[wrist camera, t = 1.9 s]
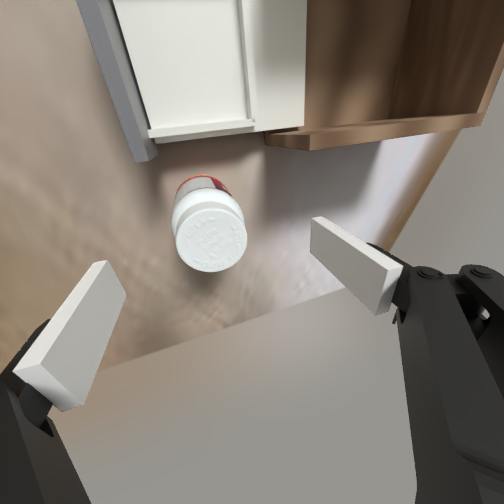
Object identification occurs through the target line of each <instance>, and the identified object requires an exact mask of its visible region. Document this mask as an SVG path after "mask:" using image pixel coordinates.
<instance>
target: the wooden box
mask: <svg viewBox="0 0 504 504" xmlns="http://www.w3.org/2000/svg"><path fill="white" fill-rule="evenodd" d="M503 68H504V0H307V19H306V61H305V102H304V126H298V127H290V128H282V129H274V130H265V131H264V134H265V145H272V146H279V147H286V148H293V149H300V150H307V151H312V150H319V149H326V148H333V147H339V146H346V145H353V144H360V143H367V142H373V141H380V140H387V139H394V138H401V137H407V136H414V135H421V134H428V133H435V132H441V131H448V130H455V129H462V128H468V127H475V126H481V123H482V121H483V118H484V116H485V113H486V111H487V108H488V106H489V103H490V101H491V98H492V96H493V93H494V91H495V88H496V86H497V83H498V80H499V78H500V76H501V73H502V71H503Z"/></svg>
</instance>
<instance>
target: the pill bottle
mask: <svg viewBox="0 0 504 504" xmlns="http://www.w3.org/2000/svg"><path fill="white" fill-rule="evenodd" d="M171 227H172V232H173V235H174V238H175V240H176V248H177V251H178V254H179V255H180V257H181V258H182V260H183V261H184V262H185V263H186V264H187V265H189V266H190V267H192V268H194V269H196V270H199V271H203V272H217V271H222V270H225V269H227V268H229V267H231V266H232V265H234V264H235V263H236V262H237V261H238V260H239V259H240V258H241V257H242V255H243V253H244V251H245V249H246V246H247V232H246V229H245V226H244V216H243V213H242V210H241V208H240V207H239V205H238V203H237V202H236V200H235V199H234V198H233V197H232V195H231V194H230V193H229V191H228V190H227V188H226V187H225V186H224V185H223V184H222V182H220V181H219V180H218V179H216V178H214V177H212V176H209V175H194V176H192V177H189V178H188V179H186V180H185V181H184V182H183V183H182V184H181V185H180V186H179V188H178V190H177V193H176V197H175V202H174V207H173V212H172V219H171Z"/></svg>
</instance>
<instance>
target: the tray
mask: <svg viewBox="0 0 504 504" xmlns="http://www.w3.org/2000/svg"><path fill="white" fill-rule="evenodd" d="M76 2H77V5H78V8H79V10H80V13H81V16H82V19H83V21H84V24H85V27H86V30H87V32H88V35H89V38H90V41H91V44H92V46H93V49H94V52H95V55H96V57H97V60H98V63H99V66H100V68H101V71H102V74H103V77H104V79H105V82H106V85H107V88H108V90H109V93H110V96H111V99H112V102H113V104H114V107H115V110H116V113H117V115H118V118H119V121H120V124H121V126H122V129H123V132H124V135H125V137H126V140H127V143H128V146H129V149H130V151H131V154H132V157H133V160H134V162H135V163H138V162H145V161H150V160H151V159H153V158H154V157H155V156H156V155H158V154H159V152H158V149H157V146H156V144H159V143H168V142H176V141H184V140H192V139H200V138H208V137H217V136H225V135H233V134H241V133H249V132H257V131H265V130H274V129H282V128H290V127H298V126H304V102H305V61H306V19H307V0H76Z"/></svg>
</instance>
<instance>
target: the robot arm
mask: <svg viewBox="0 0 504 504" xmlns="http://www.w3.org/2000/svg"><path fill="white" fill-rule="evenodd" d="M310 253H311V254H312V255H313V256H315V257H316V258H317V259H318V260H319V261H320V262H321V263H322V264H323V265H324V266H325V267H326V268H327V269H328V270H329V271H330V272H331V273H332V274H333V275H334V276H335V277H336V278H337V279H338V280H339V281H340V282H341V283H342V284H343V285H344V286H345V287H347V288H348V289H349V290H350V291H351V292H352V293H353V294H354V295H355V296H356V297H357V298H358V299H359V300H360V301H361V302H362V303H363V304H364V305H365V306H366V307H367V308H368V309H369V310H370V311H371V312H372V313H374V315H378V314H382V313H385V312H388V311H389V308H390V305H391V302H392V303H394V304H395V305H396V306H397V310H396V313H395V316H394V319H393V322H392V323H393V324H395V322H396V321H397V325H398V333H399V341H400V349H401V357H402V365H403V373H404V381H405V389H406V397H407V405H408V413H409V421H410V429H411V437H412V445H413V453H414V461H415V469H416V477H417V493H416V499H415V504H504V276H503V275H501V274H500V273H498V272H497V271H495V270H493V269H490V268H488V267H485V266H481V265H472V264H471V265H464V266H462V267H461V269H460V271H459V273H458V274H451V275H449V274H448V275H445V274H443V273H442V272H440V271H438V270H435V269H433V268H430V267H424V266H417V267H412V266H410V265H409V264H407V263H405V262H404V261H402V260H400V259H399V258H397V257H395V256H393V255H391V254H390V253H388V252H387V251H384V250H383V249H382V248H380V247H378V246H376V245H373V244H370V243H365V242H363V241H361V240H360V239H358V238H356V237H355V236H353V235H352V234H350V233H348V232H347V231H345V230H343V229H342V228H340V227H339V226H337V225H335V224H334V223H332V222H330V221H329V220H327V219H325V218H324V217H322V216H319V217H314V218H311V239H310ZM125 298H126V293H125V291H124V289H123V287H122V285H121V284H120V282H119V280H118V278H117V276H116V274H115V272H114V271H113V269H112V267H111V265H110V263H109V261H108V260H104V261H99V262H95V263H93V264H92V265H91V267H90V268H89V269H88V271H87V272H86V273H85V275H84V276H83V277H82V279H81V280H80V281H79V283H78V284H77V285H76V287H75V288H74V289H73V291H72V292H71V293H70V295H69V296H68V297H67V299H66V300H65V301H64V303H63V304H62V305H61V307H60V308H59V309H58V311H57V312H56V314H55V315H54V316H53V318H51V319H48V320H47V321H45V322H44V323H43V324H42V325H41V326H39V327H38V328H37V329H36V330H35V331H34V332H33V334H32V335H31V336H30V337H29V339H28V342H26V343H25V344H24V345H23V346H22V348H21V350H20V351H18V353H17V354H16V355H15V357H14V358H13V359H12V360H11V362H10V363H9V364H8V365H7V367H6V368H5V369H4V370H3V372H2V373H1V374H0V504H91V502H90V500H89V498H88V496H87V494H86V491H85V489H84V487H83V485H82V483H81V481H80V479H79V476H78V474H77V472H76V470H75V468H74V466H73V464H72V461H71V459H70V458H69V455H68V453H67V451H66V449H65V446H64V444H63V442H62V440H61V438H60V436H59V434H58V432H57V429H56V427H55V425H54V423H53V421H52V420H51V419H50V418H49V417H48V416H47V415H48V412H49V410H50V409H51V407H52V405H54V406H55V407H56V408H58V409H59V410H60V411H61V412H64V411H67V410H70V409H73V408H77V407H80V406H83V405H84V403H85V401H86V398H87V395H88V393H89V390H90V388H91V385H92V383H93V380H94V377H95V375H96V372H97V370H98V367H99V365H100V362H101V360H102V357H103V354H104V352H105V349H106V347H107V344H108V342H109V339H110V336H111V334H112V331H113V329H114V326H115V324H116V321H117V318H118V316H119V313H120V311H121V308H122V306H123V303H124V301H125ZM485 309H486V310H487V311H488V313H489V314H490V317H489V318H488V319H486V318H485V317H484V316H483V315H482V313H483V311H484V310H485Z"/></svg>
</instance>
